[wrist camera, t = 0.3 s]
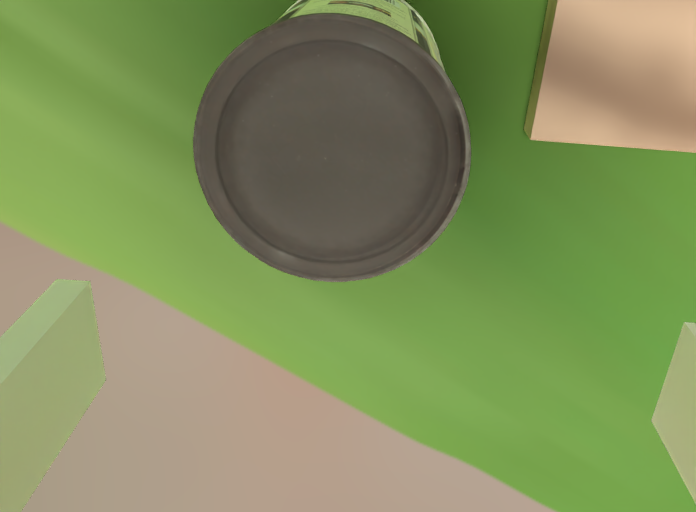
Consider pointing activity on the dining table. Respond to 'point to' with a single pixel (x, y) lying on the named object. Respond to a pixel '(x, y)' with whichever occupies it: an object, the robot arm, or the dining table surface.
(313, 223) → the coffee can
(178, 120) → the dining table surface
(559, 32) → the shelf board
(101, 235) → the dining table surface
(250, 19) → the dining table surface
